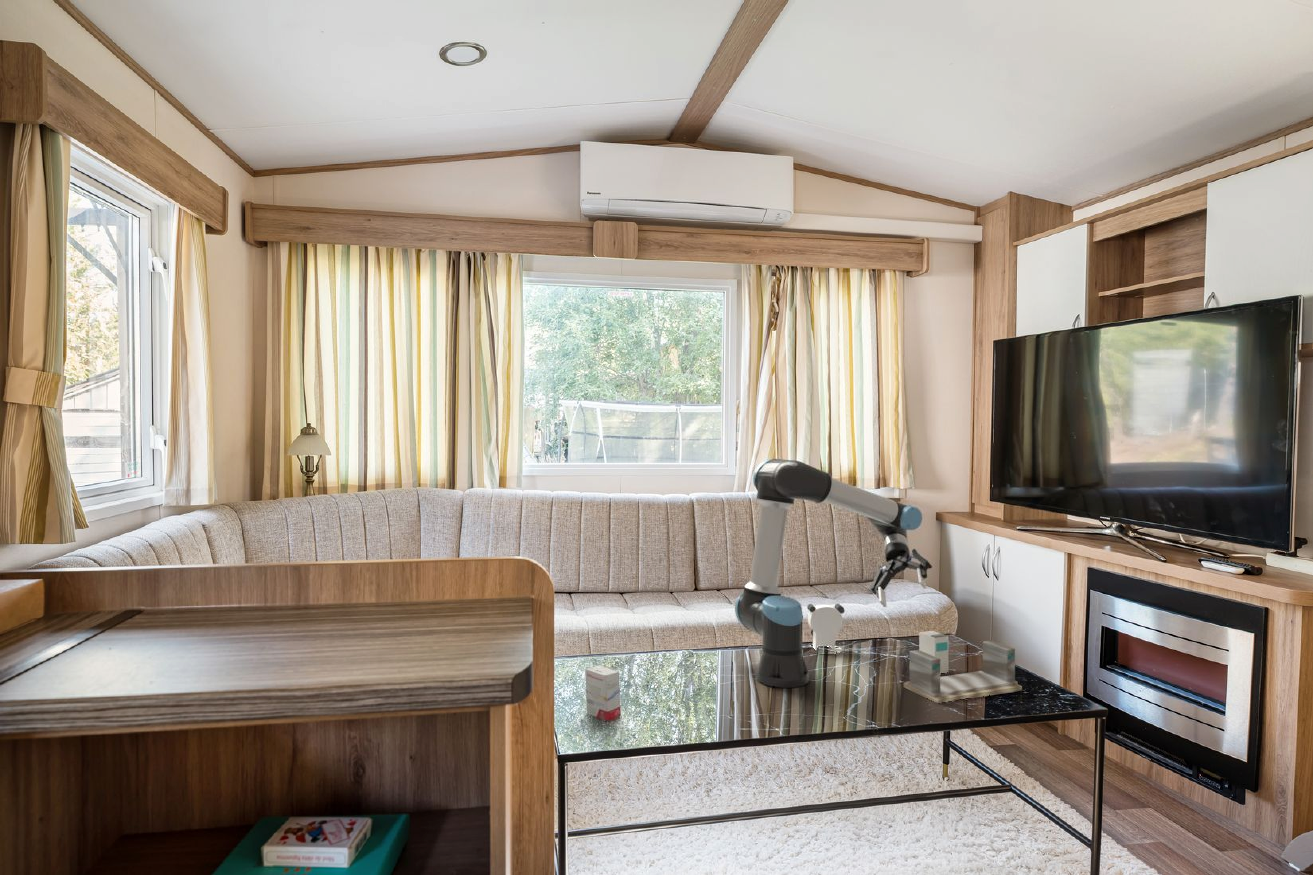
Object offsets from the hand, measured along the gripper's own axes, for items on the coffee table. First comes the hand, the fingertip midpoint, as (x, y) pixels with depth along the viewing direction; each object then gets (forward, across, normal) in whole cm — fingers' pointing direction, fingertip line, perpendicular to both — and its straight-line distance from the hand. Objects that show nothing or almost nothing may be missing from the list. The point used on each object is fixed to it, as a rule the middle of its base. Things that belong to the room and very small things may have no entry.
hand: (902, 594), depth 227 cm
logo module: (+7, +6, -25) cm, 26 cm away
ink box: (+55, +62, +48) cm, 96 cm away
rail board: (+20, -3, -22) cm, 30 cm away
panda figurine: (-6, +36, -12) cm, 39 cm away
